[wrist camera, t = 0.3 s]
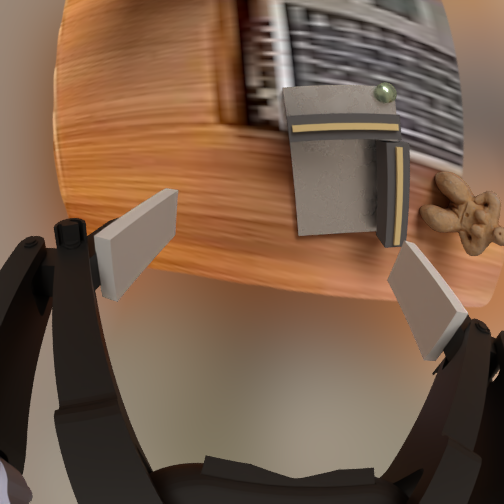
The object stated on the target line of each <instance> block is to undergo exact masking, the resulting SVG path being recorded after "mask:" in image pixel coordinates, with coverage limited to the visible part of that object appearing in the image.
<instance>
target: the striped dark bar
mask: <svg viewBox="0 0 504 504" xmlns="http://www.w3.org/2000/svg"><path fill="white" fill-rule="evenodd" d="M287 124H288V132H289V140H290V142H301V141H317V140H343V139H386V140H401V126H400V115H394V114H371V113H332V114H308V115H294V116H287Z"/></svg>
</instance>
